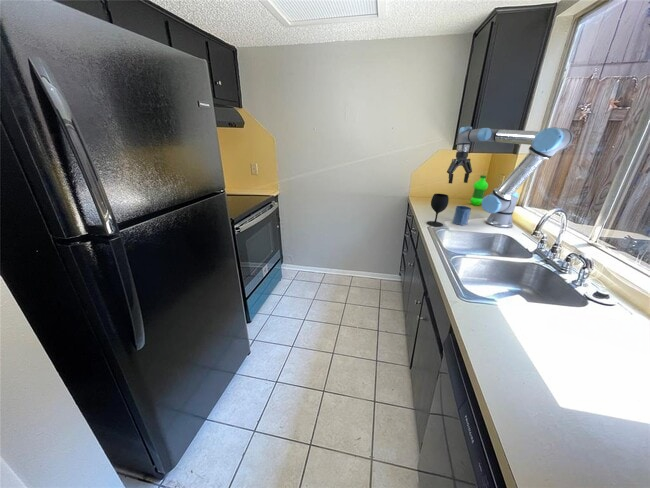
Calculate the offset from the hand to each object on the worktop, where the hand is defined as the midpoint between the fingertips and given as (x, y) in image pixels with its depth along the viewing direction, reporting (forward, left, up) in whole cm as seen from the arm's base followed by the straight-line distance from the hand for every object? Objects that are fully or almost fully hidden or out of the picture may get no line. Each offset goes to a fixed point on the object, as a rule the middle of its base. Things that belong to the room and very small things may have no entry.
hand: (457, 183), depth 183 cm
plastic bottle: (-22, -47, -25) cm, 57 cm away
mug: (-6, +17, -24) cm, 30 cm away
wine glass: (+10, +26, -25) cm, 37 cm away
